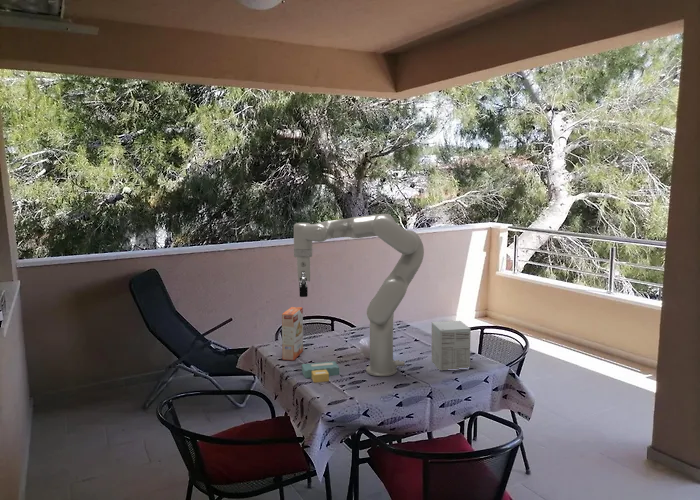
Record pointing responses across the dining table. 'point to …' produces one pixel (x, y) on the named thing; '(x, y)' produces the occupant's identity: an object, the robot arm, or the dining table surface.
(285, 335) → the cracker box
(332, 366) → the teal labeled router
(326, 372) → the yellow labeled box
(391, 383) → the dining table surface
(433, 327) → the supplement box
